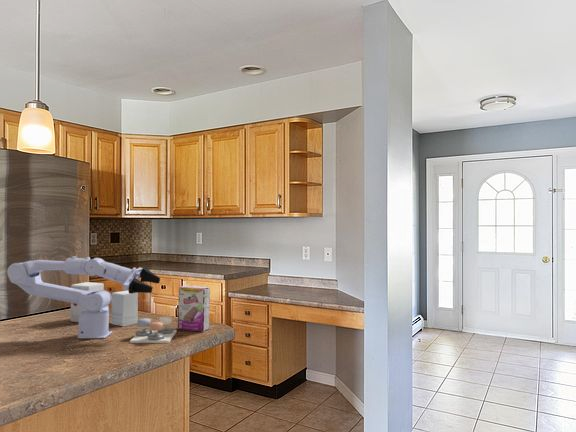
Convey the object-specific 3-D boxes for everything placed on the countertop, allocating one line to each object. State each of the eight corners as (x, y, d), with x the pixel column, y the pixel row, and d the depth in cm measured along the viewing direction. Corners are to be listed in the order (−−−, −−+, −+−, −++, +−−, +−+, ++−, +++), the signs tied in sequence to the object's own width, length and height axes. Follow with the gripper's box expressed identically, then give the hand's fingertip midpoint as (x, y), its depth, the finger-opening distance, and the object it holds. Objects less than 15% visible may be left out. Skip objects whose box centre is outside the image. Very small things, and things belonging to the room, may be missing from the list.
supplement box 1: (69, 321, 173) (70, 284, 173) (85, 316, 181) (86, 281, 182) (87, 323, 170) (88, 285, 170) (103, 318, 179) (104, 282, 179)
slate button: (135, 326, 151) (135, 321, 151) (139, 323, 155) (139, 318, 155) (148, 326, 151) (149, 321, 151) (152, 323, 156) (152, 318, 156)
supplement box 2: (138, 323, 172) (138, 291, 172) (122, 326, 166) (123, 294, 166) (126, 320, 176) (127, 290, 176) (110, 324, 170) (111, 292, 170)
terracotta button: (147, 330, 146) (148, 324, 146) (151, 327, 151) (151, 321, 151) (161, 330, 146) (161, 324, 146) (164, 327, 151) (164, 321, 151)
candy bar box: (177, 329, 163) (178, 286, 164) (183, 326, 168) (184, 285, 168) (203, 332, 160) (204, 288, 160) (209, 329, 165) (210, 286, 165)
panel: (129, 342, 145) (129, 335, 145) (140, 332, 159) (140, 325, 159) (168, 342, 146) (169, 335, 146) (176, 332, 160) (176, 325, 160)
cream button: (157, 324, 154) (157, 319, 154) (160, 321, 159) (160, 316, 159) (170, 324, 154) (170, 319, 154) (173, 321, 159) (173, 316, 159)
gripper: (112, 272, 145) (150, 284, 145) (129, 256, 159) (164, 267, 159) (108, 290, 147) (146, 302, 148) (126, 273, 161) (161, 283, 161)
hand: (155, 285), depth 154 cm, fingers open, 7 cm apart
